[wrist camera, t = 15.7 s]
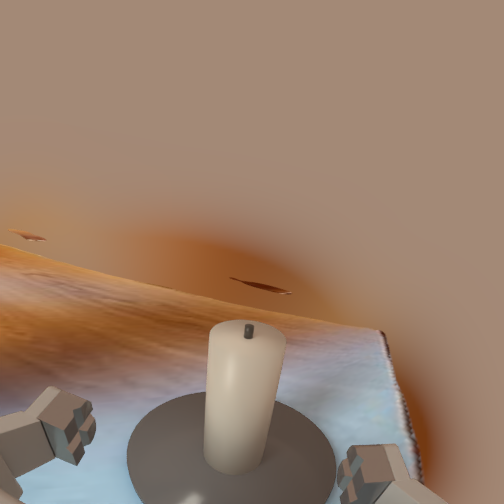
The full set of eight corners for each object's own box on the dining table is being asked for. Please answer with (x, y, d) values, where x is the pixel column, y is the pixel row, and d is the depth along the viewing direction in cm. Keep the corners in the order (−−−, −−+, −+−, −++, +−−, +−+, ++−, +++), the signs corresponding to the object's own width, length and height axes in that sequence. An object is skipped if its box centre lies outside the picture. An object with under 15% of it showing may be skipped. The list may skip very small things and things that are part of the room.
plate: (91, 442, 22) (89, 433, 22) (228, 379, 36) (228, 371, 35) (241, 586, 11) (242, 583, 11) (364, 452, 25) (368, 445, 24)
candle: (191, 450, 23) (194, 321, 20) (231, 426, 26) (246, 304, 23) (234, 484, 20) (254, 355, 17) (273, 453, 23) (303, 328, 20)
